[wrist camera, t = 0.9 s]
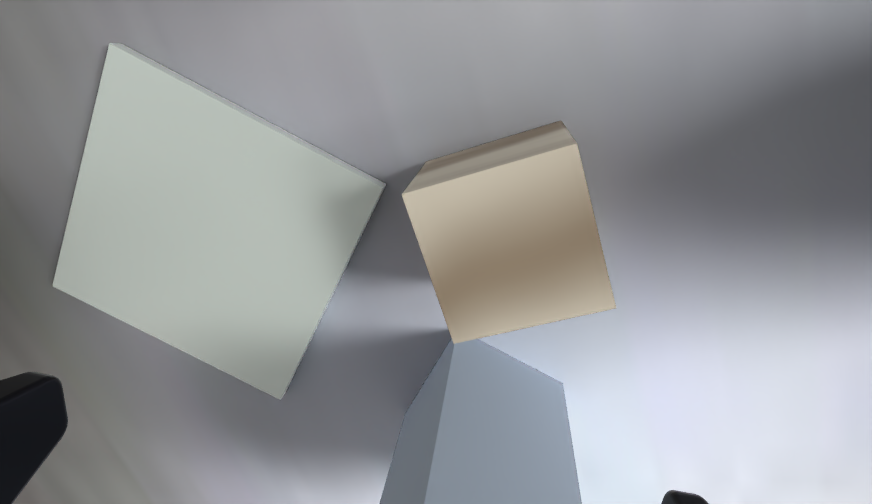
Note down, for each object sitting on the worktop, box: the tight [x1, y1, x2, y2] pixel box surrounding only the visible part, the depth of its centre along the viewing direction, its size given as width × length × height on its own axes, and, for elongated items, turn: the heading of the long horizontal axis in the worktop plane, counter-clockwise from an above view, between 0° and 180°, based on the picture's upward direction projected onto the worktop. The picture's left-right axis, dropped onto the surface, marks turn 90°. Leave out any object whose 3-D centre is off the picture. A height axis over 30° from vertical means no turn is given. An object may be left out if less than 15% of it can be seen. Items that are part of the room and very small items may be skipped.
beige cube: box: [402, 121, 616, 344], centre depth 18 cm, size 5×5×5 cm
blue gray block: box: [380, 338, 582, 504], centre depth 19 cm, size 5×5×10 cm
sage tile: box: [52, 43, 386, 400], centre depth 22 cm, size 11×11×1 cm
